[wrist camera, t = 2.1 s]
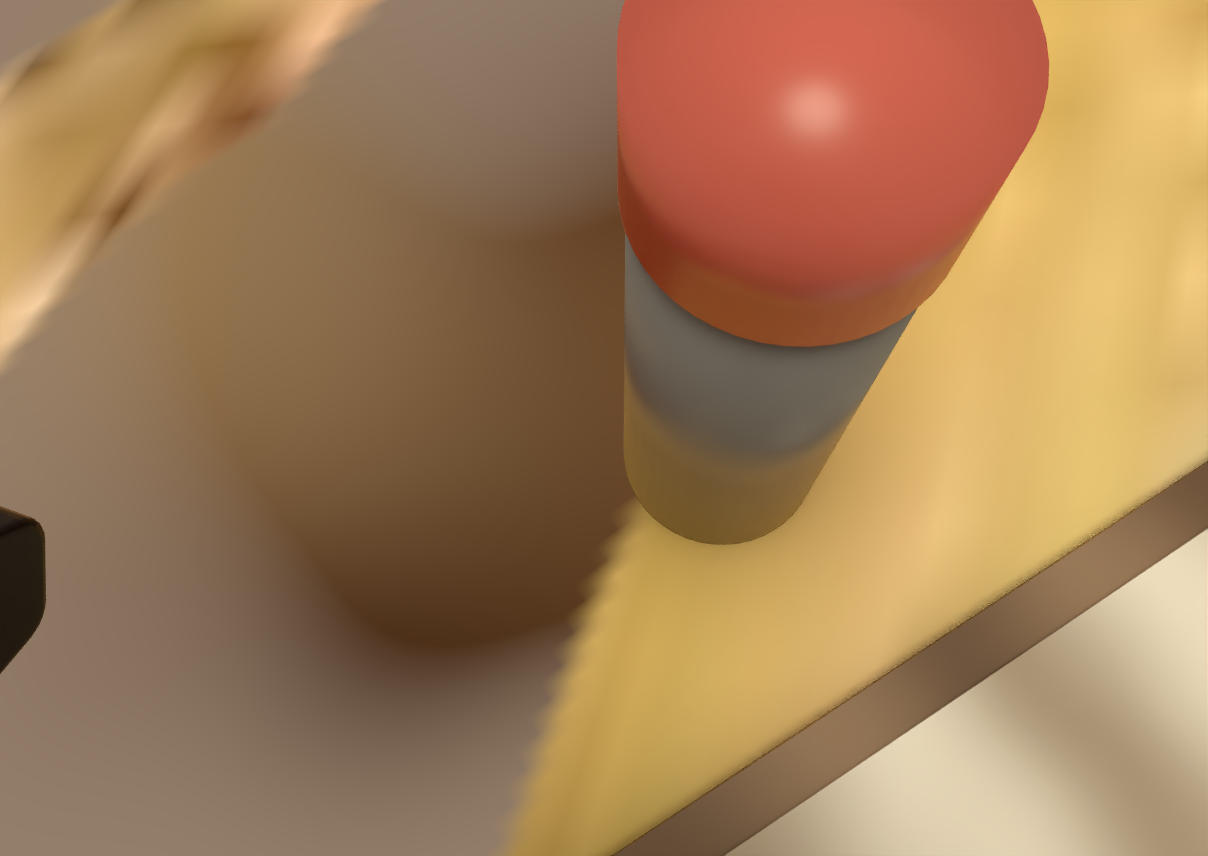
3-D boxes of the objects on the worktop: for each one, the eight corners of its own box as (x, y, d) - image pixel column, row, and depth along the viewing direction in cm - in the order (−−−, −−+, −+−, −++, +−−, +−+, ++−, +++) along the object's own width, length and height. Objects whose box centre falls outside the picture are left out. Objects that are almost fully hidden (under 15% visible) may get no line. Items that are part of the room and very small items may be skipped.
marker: (690, 587, 21) (777, 313, 9) (580, 419, 22) (538, -7, 11) (860, 481, 22) (1140, 102, 10) (745, 324, 23) (876, -177, 11)
